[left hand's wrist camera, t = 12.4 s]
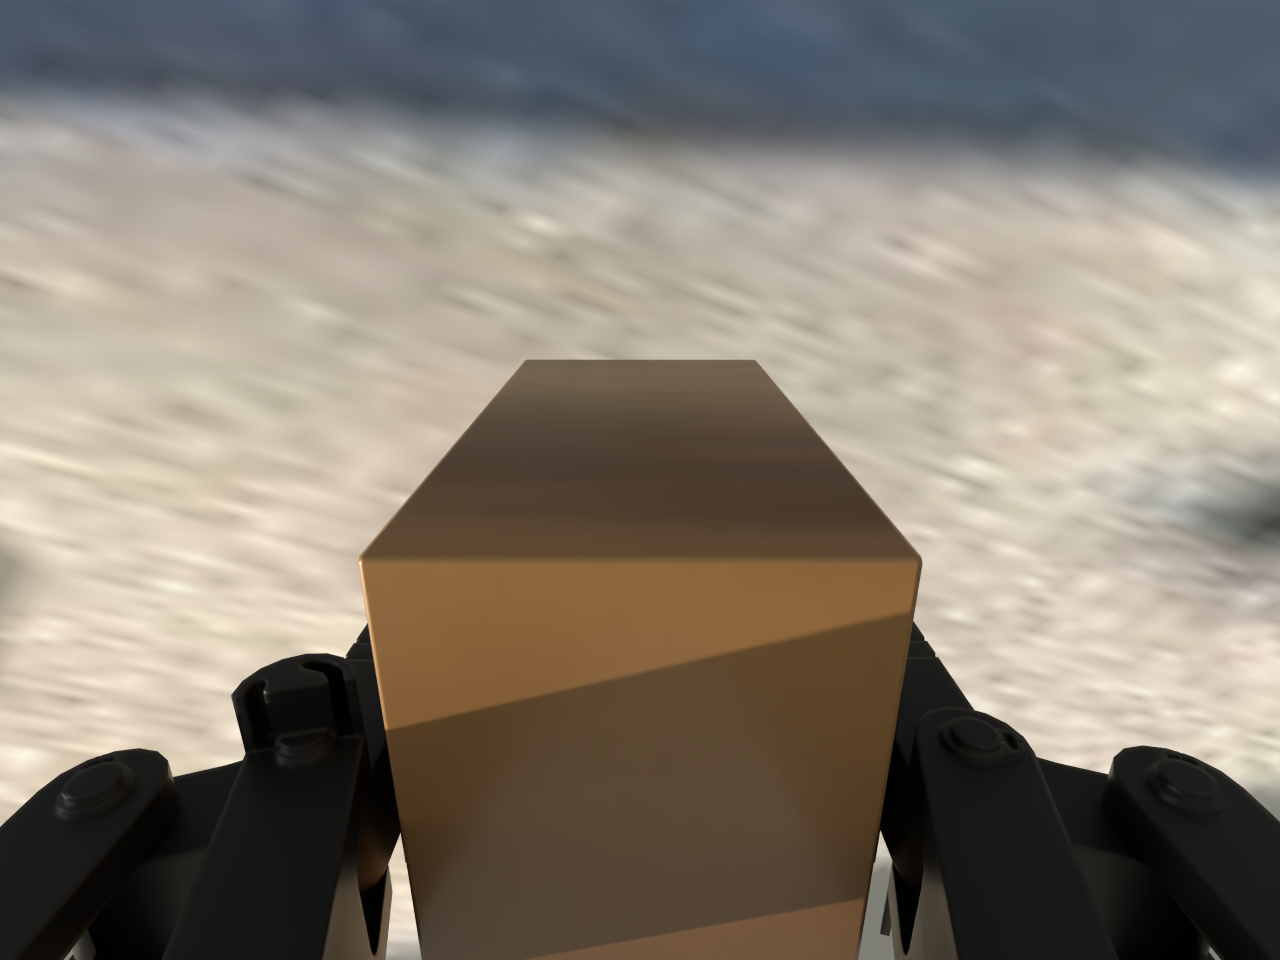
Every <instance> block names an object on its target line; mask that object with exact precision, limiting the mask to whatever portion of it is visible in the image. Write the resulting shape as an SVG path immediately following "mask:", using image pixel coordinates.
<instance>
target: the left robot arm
mask: <svg viewBox="0 0 1280 960" xmlns="http://www.w3.org/2000/svg"><path fill="white" fill-rule="evenodd" d="M231 697H232V701H233V705H234V709H235V713H236V717H237V721H238V725H239V729H240V733H241V737H242V740H243V744H244V748H245V752H246V754H245V756H244V759H243V760H242V761H239V762H235V763H232V764H229V765H225V766H221V767H216V768H212V769H207V770H203V771H198V772H194V773H190V774H185V775H181V776H176V777H173V776H172V773H171V769H170V766H169V763H168V760H167V759H166V758H164V757H163V756H162V755H161V754H160V753H159V752H158V751H152V750H146V749H140V748H138V749H130V750H122V751H114V752H111V753H108V754H105V755H102V756H98V757H95V758H93V759H90V760H87V761H85V762H83V763H81V764H79V765H77V766H75V767H73V768H72V769H70V770H68V771H66V772H64V773H62V774H60V775H59V776H58V777H56V778H55V779H54V780H52V781H51V782H50V783H48V784H47V785H46V786H44V787H43V788H42V789H40V790H39V791H38V792H37V793H36V794H35V795H34V796H32V797H31V798H30V799H29V800H28V801H27V802H26V803H25V804H24V805H23V806H22V807H21V808H20V809H19V810H18V811H17V812H16V813H14V814H13V815H12V816H11V817H10V818H9V819H8V820H7V821H6V822H5V823H4V824H3V825H2V826H1V827H0V960H64V958H65V957H66V956H67V955H68V953H69V952H70V951H71V950H72V953H73V955H72V956H71V958H70V959H69V960H385V957H386V948H387V938H388V929H389V919H390V910H391V900H392V885H391V878H390V872H389V866H388V863H389V860H390V858H391V855H392V853H393V850H394V848H395V845H396V843H397V840H398V838H399V835H400V832H401V826H400V820H399V813H398V807H397V801H396V795H395V789H394V782H393V776H392V770H391V764H390V757H389V751H388V745H387V739H386V733H385V726H384V720H383V714H382V708H381V701H380V695H379V689H378V683H377V677H376V670H375V664H374V658H373V652H372V645H371V639H370V633H369V627H368V623H367V625H366V626H365V628H364V629H363V631H362V632H361V634H360V635H359V637H358V638H357V643H354V644H353V646H352V647H351V648H350V650H349V651H348V653H347V654H346V659H345V658H343V657H339V656H335V655H331V654H328V653H322V654H303V655H299V656H294V657H290V658H286V659H282V660H280V661H277V662H275V663H273V664H270V665H268V666H265V667H263V668H261V669H259V670H258V671H256V672H255V673H253V674H252V675H251V676H249V677H248V678H246V679H245V680H243V681H242V682H241V684H240V685H239V686H238V687H237V689H236V690H235V691H234V692H233V694H232V695H231ZM880 830H881V833H882V835H883V838H884V840H885V843H886V845H887V848H888V851H889V853H890V856H891V858H892V866H891V872H890V878H889V883H888V889H887V895H886V900H885V906H884V912H883V918H882V925H881V932H880V934H883V935H887V936H889V935H890V929H891V927H892V937H893V946H894V956H895V960H1215V959H1214V958H1213V957H1212V955H1211V954H1210V953H1209V950H1210V947H1211V948H1212V949H1213V950H1214V951H1215V953H1216V954H1217V955H1218V956H1219V958H1220V959H1221V960H1280V822H1279V821H1278V820H1277V819H1276V818H1275V817H1274V816H1273V815H1272V814H1271V813H1270V812H1269V811H1268V810H1267V809H1266V808H1264V807H1263V806H1262V805H1261V804H1260V803H1259V802H1258V801H1257V800H1256V799H1255V798H1254V797H1253V796H1252V795H1251V794H1249V793H1248V792H1247V791H1246V790H1245V789H1244V788H1243V787H1241V786H1240V785H1239V784H1238V783H1236V782H1235V781H1234V780H1232V779H1231V778H1230V777H1228V776H1227V775H1226V774H1224V773H1223V772H1222V771H1220V770H1218V769H1216V768H1214V767H1212V766H1210V765H1208V764H1206V763H1204V762H1202V761H1200V760H1198V759H1196V758H1194V757H1192V756H1189V755H1186V754H1182V753H1179V752H1177V751H1173V750H1170V749H1167V748H1159V747H1151V746H1143V745H1142V746H1136V747H1130V748H1124V749H1123V750H1122V751H1121V752H1119V753H1118V754H1117V755H1116V756H1115V757H1114V758H1113V762H1112V765H1111V768H1110V771H1109V774H1104V773H1100V772H1095V771H1091V770H1086V769H1082V768H1077V767H1073V766H1068V765H1064V764H1059V763H1055V762H1052V761H1048V760H1045V759H1041V758H1038V757H1036V755H1035V753H1034V751H1033V750H1032V748H1031V747H1030V745H1029V744H1028V742H1027V741H1026V740H1025V738H1024V737H1023V736H1022V735H1021V734H1019V733H1018V732H1017V731H1015V730H1014V729H1013V728H1012V727H1010V726H1009V725H1008V724H1007V723H1005V722H1002V721H1000V720H998V719H996V718H994V717H992V716H990V715H988V714H986V713H982V712H979V711H975V710H974V709H973V707H972V706H971V705H970V703H969V702H968V700H967V699H966V697H965V696H964V694H963V693H962V691H961V690H960V689H959V687H958V686H957V684H956V683H955V681H954V680H953V678H952V677H951V675H950V674H949V672H948V671H947V670H946V668H945V667H944V665H943V664H942V662H941V661H940V659H939V658H938V657H935V652H934V651H933V649H932V648H931V646H930V645H929V643H928V642H927V641H924V636H923V635H922V633H921V632H920V630H919V629H918V627H917V626H916V624H915V623H914V621H913V624H912V630H911V637H910V643H909V649H908V655H907V661H906V667H905V673H904V680H903V686H902V692H901V698H900V704H899V710H898V717H897V723H896V729H895V735H894V741H893V747H892V753H891V760H890V766H889V772H888V778H887V784H886V790H885V797H884V803H883V809H882V815H881V821H880V827H879V833H878V840H877V846H876V852H875V858H874V863H875V859H876V853H877V847H878V841H879V835H880ZM401 838H402V832H401ZM402 844H403V838H402ZM403 850H404V845H403ZM404 856H405V851H404ZM405 862H406V857H405Z"/></svg>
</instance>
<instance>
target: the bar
mask: <svg viewBox="0 0 1280 960" xmlns="http://www.w3.org/2000/svg"><path fill="white" fill-rule="evenodd" d="M358 565H359V571H360V577H361V583H362V590H363V596H364V602H365V608H366V614H367V621H368V627H369V633H370V639H371V645H372V652H373V658H374V664H375V670H376V677H377V683H378V689H379V695H380V701H381V708H382V714H383V720H384V726H385V733H386V739H387V745H388V751H389V757H390V764H391V770H392V776H393V782H394V789H395V795H396V801H397V807H398V813H399V820H400V826H401V832H402V838H403V845H404V851H405V857H406V863H407V869H408V876H409V882H410V888H411V894H412V900H413V907H414V913H415V919H416V925H417V932H418V938H419V944H420V950H421V956H422V960H858V956H859V950H860V944H861V938H862V932H863V926H864V920H865V913H866V907H867V901H868V895H869V889H870V882H871V876H872V870H873V864H874V858H875V852H876V846H877V840H878V833H879V827H880V821H881V815H882V809H883V803H884V797H885V790H886V784H887V778H888V772H889V766H890V760H891V753H892V747H893V741H894V735H895V729H896V723H897V717H898V710H899V704H900V698H901V692H902V686H903V680H904V673H905V667H906V661H907V655H908V649H909V643H910V637H911V630H912V624H913V618H914V612H915V606H916V600H917V594H918V587H919V581H920V575H921V569H922V559H921V556H920V555H919V554H918V553H917V551H916V550H915V549H914V548H913V547H912V545H911V544H910V543H909V542H908V541H907V539H906V538H905V537H904V536H903V535H902V534H901V532H900V531H899V530H898V529H897V528H896V526H895V525H894V524H893V523H892V522H891V520H890V519H889V518H888V517H887V516H886V515H885V513H884V512H883V511H882V510H881V509H880V507H879V506H878V505H877V504H876V503H875V501H874V500H873V499H872V498H871V497H870V496H869V494H868V493H867V492H866V491H865V490H864V488H863V487H862V486H861V485H860V484H859V482H858V481H857V480H856V479H855V478H854V477H853V475H852V474H851V473H850V472H849V471H848V469H847V468H846V467H845V466H844V465H843V463H842V462H841V461H840V460H839V459H838V458H837V456H836V455H835V454H834V453H833V452H832V450H831V449H830V448H829V447H828V446H827V444H826V443H825V442H824V441H823V440H822V439H821V437H820V436H819V435H818V434H817V433H816V431H815V430H814V429H813V428H812V427H811V425H810V424H809V423H808V422H807V421H806V420H805V418H804V417H803V416H802V415H801V414H800V412H799V411H798V410H797V409H796V408H795V406H794V405H793V404H792V403H791V402H790V401H789V399H788V398H787V397H786V396H785V395H784V393H783V392H782V391H781V390H780V389H779V387H778V386H777V385H776V384H775V383H774V382H773V380H772V379H771V378H770V377H769V376H768V374H767V373H766V372H765V371H764V370H763V369H762V367H761V366H760V365H759V364H758V363H757V361H755V360H526V361H524V363H523V364H522V365H521V366H520V367H519V369H518V370H517V371H516V372H515V373H514V374H513V376H512V377H511V378H510V379H509V380H508V382H507V383H506V384H505V385H504V386H503V387H502V389H501V390H500V391H499V392H498V393H497V395H496V396H495V397H494V398H493V399H492V400H491V402H490V403H489V404H488V405H487V406H486V407H485V409H484V410H483V411H482V412H481V413H480V415H479V416H478V417H477V418H476V419H475V420H474V422H473V423H472V424H471V425H470V426H469V428H468V429H467V430H466V431H465V432H464V433H463V435H462V436H461V437H460V438H459V439H458V441H457V442H456V443H455V444H454V445H453V446H452V448H451V449H450V450H449V451H448V452H447V454H446V455H445V456H444V457H443V458H442V459H441V461H440V462H439V463H438V464H437V465H436V466H435V468H434V469H433V470H432V471H431V472H430V474H429V475H428V476H427V477H426V478H425V479H424V481H423V482H422V483H421V484H420V485H419V487H418V488H417V489H416V490H415V491H414V492H413V494H412V495H411V496H410V497H409V498H408V500H407V501H406V502H405V503H404V504H403V505H402V507H401V508H400V509H399V510H398V511H397V513H396V514H395V515H394V516H393V517H392V518H391V520H390V521H389V522H388V523H387V524H386V526H385V527H384V528H383V529H382V530H381V531H380V533H379V534H378V535H377V536H376V537H375V538H374V540H373V541H372V542H371V543H370V544H369V546H368V547H367V548H366V549H365V550H364V551H363V553H362V554H361V555H360V557H359V560H358Z"/></svg>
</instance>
